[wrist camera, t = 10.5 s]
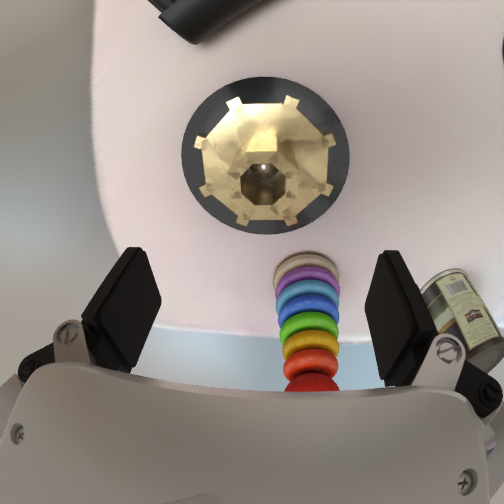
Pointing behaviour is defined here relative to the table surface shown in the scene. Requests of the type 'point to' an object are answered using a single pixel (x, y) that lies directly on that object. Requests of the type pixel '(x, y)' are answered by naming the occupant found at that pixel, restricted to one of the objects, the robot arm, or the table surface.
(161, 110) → the table surface
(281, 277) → the stacking toy
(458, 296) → the coffee can
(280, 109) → the tan faceted octagonal piece
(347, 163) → the plate
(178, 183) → the table surface
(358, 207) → the table surface
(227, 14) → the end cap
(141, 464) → the robot arm
